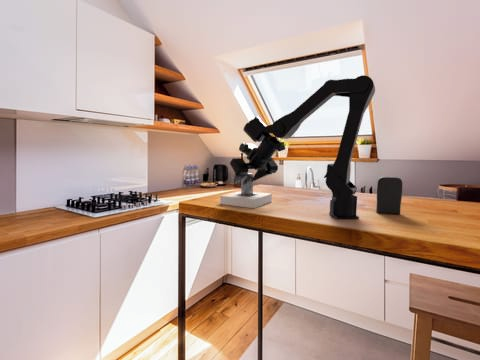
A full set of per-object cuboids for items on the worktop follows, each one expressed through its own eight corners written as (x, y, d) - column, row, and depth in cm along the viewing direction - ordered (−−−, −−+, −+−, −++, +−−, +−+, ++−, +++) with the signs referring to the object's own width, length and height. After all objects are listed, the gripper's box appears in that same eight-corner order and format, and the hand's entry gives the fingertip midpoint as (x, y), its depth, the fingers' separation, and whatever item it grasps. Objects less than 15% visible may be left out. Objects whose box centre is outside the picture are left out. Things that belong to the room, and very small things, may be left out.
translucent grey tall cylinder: (252, 201, 104) (252, 172, 103) (253, 203, 100) (253, 173, 98) (240, 201, 104) (240, 172, 102) (241, 203, 99) (241, 173, 98)
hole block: (271, 201, 104) (271, 193, 104) (254, 208, 92) (254, 199, 92) (240, 198, 111) (240, 190, 111) (220, 203, 99) (220, 195, 99)
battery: (399, 212, 86) (401, 176, 85) (401, 215, 83) (403, 177, 81) (374, 210, 89) (376, 175, 87) (375, 213, 85) (377, 176, 84)
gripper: (272, 135, 102) (253, 164, 111) (232, 134, 90) (214, 165, 100) (288, 157, 96) (266, 185, 106) (248, 158, 85) (227, 189, 95)
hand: (244, 180), depth 102 cm, fingers open, 9 cm apart
